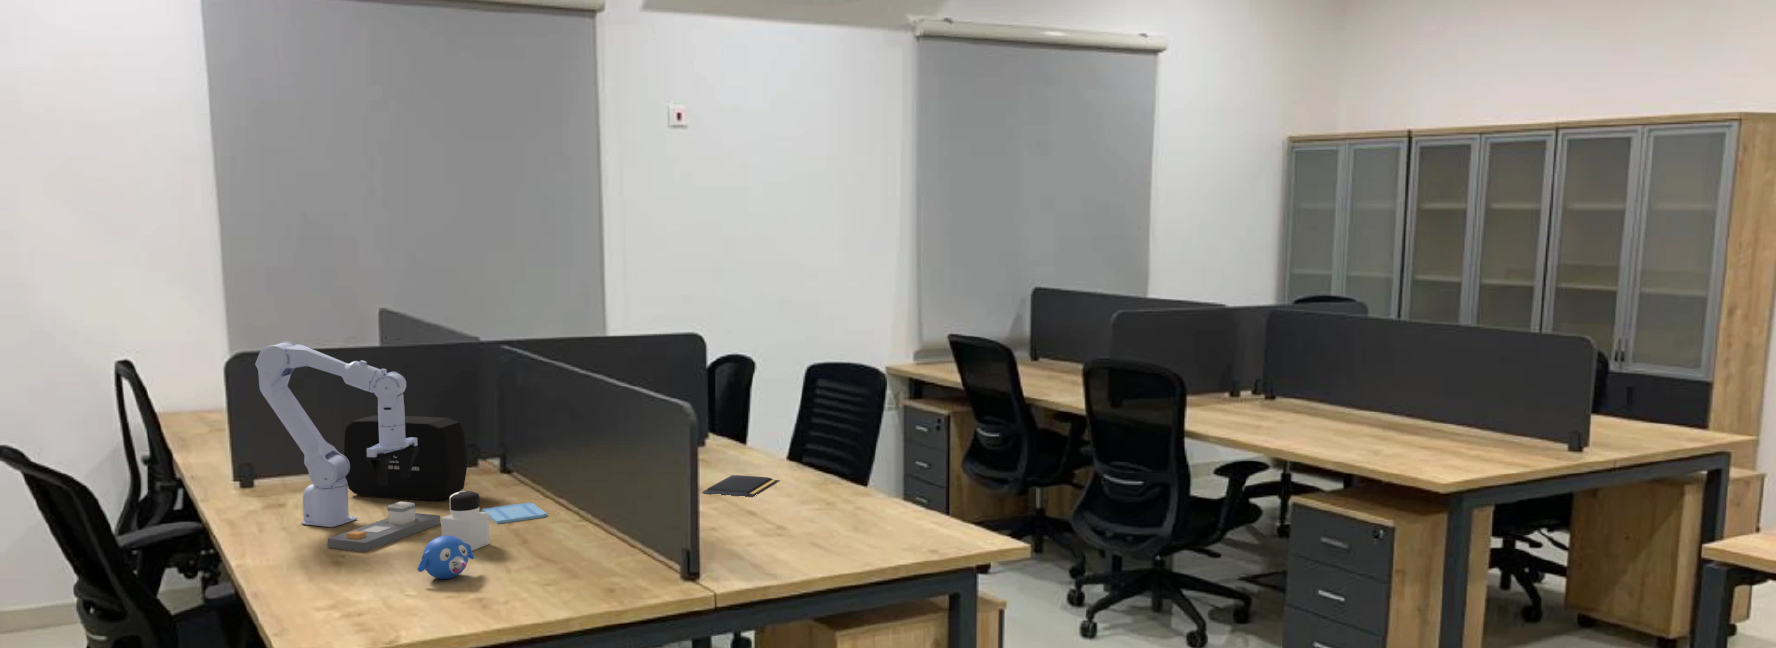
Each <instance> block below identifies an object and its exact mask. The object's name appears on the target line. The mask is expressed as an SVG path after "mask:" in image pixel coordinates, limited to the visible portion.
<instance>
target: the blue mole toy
mask: <svg viewBox="0 0 1776 648" xmlns="http://www.w3.org/2000/svg"><path fill="white" fill-rule="evenodd" d="M475 558H476V557H475V554H474V552H473V551H472V549H471V546H470V545H469V544H467V543H464V542H463V541H462V540H461V539H459V538H457V537H455V536H442V535H441V536H438V537H435V538H434V539H432V540H430V541H429V542H428V543H427V544H426V545H425V547H424V549H423V553H422V557H421V560H420V562H419V565H418V566H417V571H418V572H420V573H422V572H424V571H426V572H427V574H428V575H430V576H431V577H433V578H435V579H438V580H439V579H440V580H447V579H448V580H449V579H452V578H455V577H457V576H458V575H460V574H461V573H462V572H463V571H465V569H466V567H467V565H468V563H469V559H470V560H474V559H475Z"/></svg>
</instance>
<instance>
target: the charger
mask: <svg viewBox="0 0 1776 648" xmlns="http://www.w3.org/2000/svg"><path fill="white" fill-rule="evenodd" d="M415 513H416V505H415V503H414V502H409V501H398V502H395V503H392V504H388V505H387V516H388V517H387V518H388V521H389V524H397V525H405V524H408V523H410V522H413V521H415Z"/></svg>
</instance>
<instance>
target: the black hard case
mask: <svg viewBox="0 0 1776 648" xmlns="http://www.w3.org/2000/svg"><path fill="white" fill-rule="evenodd" d="M410 437H413V438H417V446H414V447H418V448H419V452H418V454H417V456H416V458H415V460H414V463H413V466H412V470H411V475H410V478H408V479H407V478H401V476H400V470H399V462H398V458H397V455H396V452H395V451H392V452H389V453H385V454H384V455H385V457H391V460H390V463H389V467H388V482H387V485H385V486H382V485H378V483H377V480H376V477H375V474H374V472H373V470H372V468H371V466H370V464H369V463H368V462H367V460H366V456H367V448H371V447H373V446H375V445H377V444H379V422H378V415H370V416H367V417H362V418H359V419H354V420H353V421H352V422H350V423H349V424H347V425H346V428H345V431H344V441H343V442H344V445H343V455H344V456H345V457H346V458H347V459H348V460H349V462H350V470H349V472H348V474H347V475H346V476H345V478H346V480H347V487H348V489H349V490H350V491H351V492H353V494H355V495H359V496H365V497H371V498H381V499H394V500H415V501H417V500H419V501H420V500H421V501H441V500H443V499H445V498H448V497H450V496H451V495H452V494H454V493H457V492H462V491H463V490H464V489H465V483H466V477H467V470H468V465H469V464H468V455H467V449H466V448H467V446H466V437H465V430H464V428H463V426H462V424H461V422H460V421H457V420H454V419H452V418H449V417H435V416H434V417H433V416H413V415H405V438H410Z"/></svg>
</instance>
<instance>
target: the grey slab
mask: <svg viewBox="0 0 1776 648" xmlns="http://www.w3.org/2000/svg"><path fill="white" fill-rule="evenodd" d="M438 525H441V515H439V514H429V513H428V514H427V513H419V512H415V521H413V522H410V523H408V524H405V525H397V524H389V521H388V517H386V518H384V519H381V520H379V521H375V522H372V523H370V524H366V525H363V526H361V527H358V528H354V529H352V530H349V531H346V532H343V533H340V534H337V535H334V536H331V537H328V538H327V549H328V548H329V549H337V550H346V551H356V552H363V553H366V552H369V551H372V550H374V549H377V548H379V547H382V546H385V545H387V544H390V543H392V542H395V541H398V540H401V539H404V538H406V537H408V536H411V535H414V534H416V533H420V532H423V531H425V530H428V529H430V528H433V527H436V526H438Z"/></svg>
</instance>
